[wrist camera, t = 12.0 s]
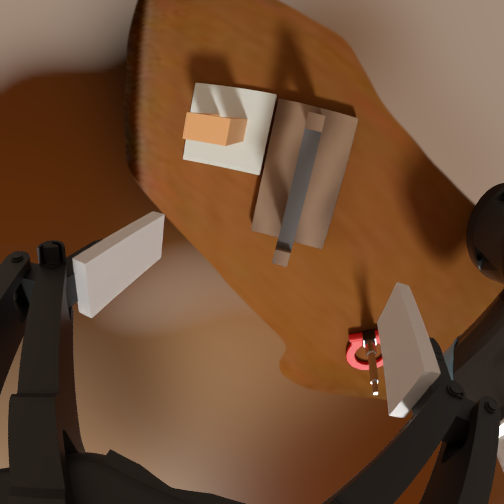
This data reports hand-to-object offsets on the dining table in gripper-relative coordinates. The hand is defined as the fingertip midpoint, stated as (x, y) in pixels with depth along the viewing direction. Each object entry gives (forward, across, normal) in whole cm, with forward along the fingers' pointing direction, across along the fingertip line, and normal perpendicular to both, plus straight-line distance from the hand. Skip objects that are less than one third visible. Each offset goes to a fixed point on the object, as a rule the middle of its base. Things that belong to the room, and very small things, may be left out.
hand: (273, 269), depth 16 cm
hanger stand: (+26, +1, -1) cm, 26 cm away
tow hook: (+27, -18, +24) cm, 40 cm away
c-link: (+25, +12, -5) cm, 28 cm away
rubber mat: (+25, +12, -5) cm, 28 cm away
